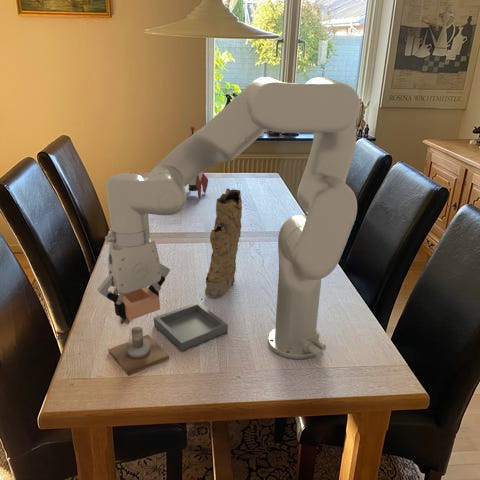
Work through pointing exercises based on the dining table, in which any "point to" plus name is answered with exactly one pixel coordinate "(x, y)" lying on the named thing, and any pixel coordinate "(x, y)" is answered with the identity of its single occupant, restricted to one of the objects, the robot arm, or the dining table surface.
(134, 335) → the brown piece
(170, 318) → the tray
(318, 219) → the robot arm
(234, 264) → the tan log
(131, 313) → the ring
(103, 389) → the dining table surface
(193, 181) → the toy
